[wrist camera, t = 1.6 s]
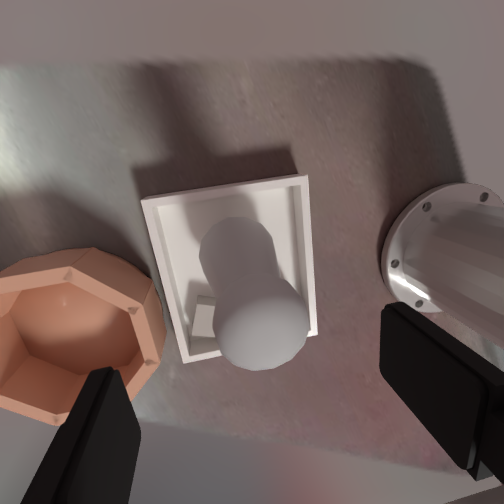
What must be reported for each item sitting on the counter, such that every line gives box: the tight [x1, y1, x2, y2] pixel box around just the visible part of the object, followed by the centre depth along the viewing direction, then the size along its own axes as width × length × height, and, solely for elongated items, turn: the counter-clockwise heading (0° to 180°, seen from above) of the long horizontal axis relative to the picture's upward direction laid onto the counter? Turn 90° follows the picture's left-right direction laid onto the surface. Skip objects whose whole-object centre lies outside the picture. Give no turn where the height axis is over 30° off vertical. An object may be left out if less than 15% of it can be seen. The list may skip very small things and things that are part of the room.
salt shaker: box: [199, 217, 310, 371], centre depth 18 cm, size 6×6×13 cm
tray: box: [141, 174, 318, 364], centre depth 23 cm, size 12×14×2 cm
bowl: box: [0, 247, 167, 426], centre depth 21 cm, size 12×12×5 cm
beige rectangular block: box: [191, 295, 217, 337], centre depth 25 cm, size 4×3×2 cm
